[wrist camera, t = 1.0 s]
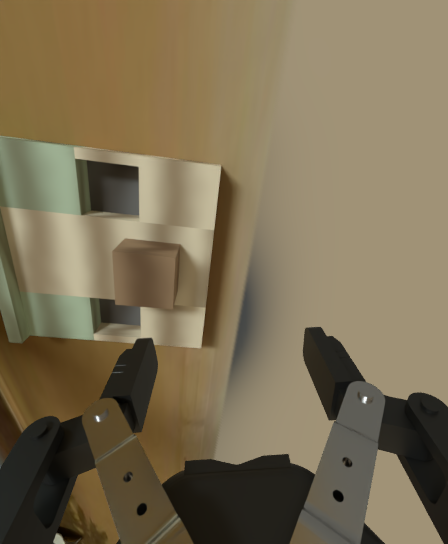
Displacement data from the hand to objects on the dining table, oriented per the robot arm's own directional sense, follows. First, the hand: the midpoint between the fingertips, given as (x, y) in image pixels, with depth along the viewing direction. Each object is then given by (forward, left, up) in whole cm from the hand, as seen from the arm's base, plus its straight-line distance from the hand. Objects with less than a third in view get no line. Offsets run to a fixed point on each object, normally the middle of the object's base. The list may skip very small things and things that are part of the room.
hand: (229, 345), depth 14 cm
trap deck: (-13, +3, -20) cm, 24 cm away
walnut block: (-8, +1, -17) cm, 19 cm away
